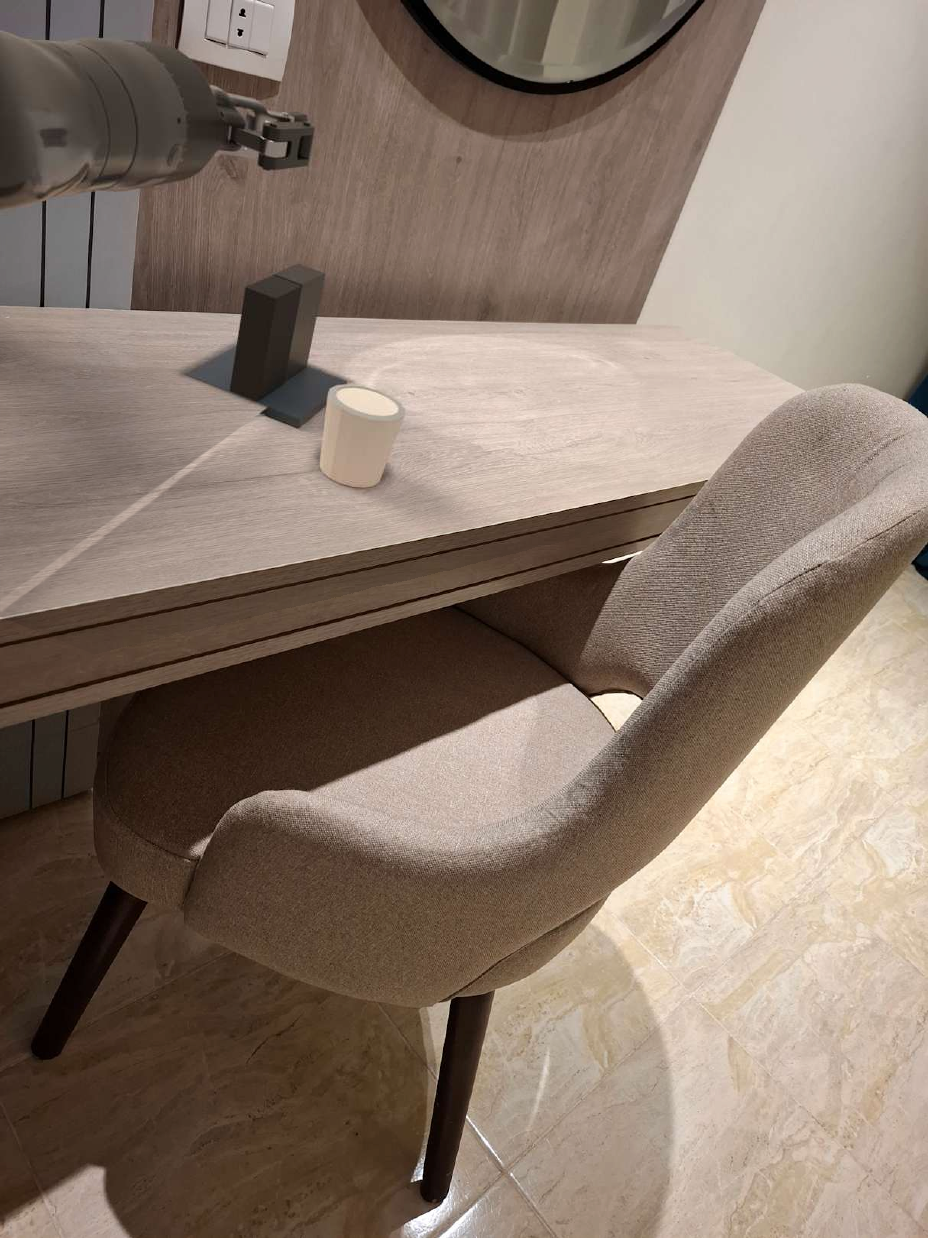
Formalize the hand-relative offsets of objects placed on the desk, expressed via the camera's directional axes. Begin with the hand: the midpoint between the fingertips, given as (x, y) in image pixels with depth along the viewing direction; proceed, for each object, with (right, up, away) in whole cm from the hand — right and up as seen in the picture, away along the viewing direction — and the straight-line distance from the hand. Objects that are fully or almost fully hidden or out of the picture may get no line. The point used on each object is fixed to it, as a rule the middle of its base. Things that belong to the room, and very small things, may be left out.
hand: (247, 109), depth 66 cm
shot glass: (+5, -24, +16) cm, 29 cm away
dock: (-4, -13, +26) cm, 30 cm away
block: (-4, -14, +23) cm, 27 cm away
